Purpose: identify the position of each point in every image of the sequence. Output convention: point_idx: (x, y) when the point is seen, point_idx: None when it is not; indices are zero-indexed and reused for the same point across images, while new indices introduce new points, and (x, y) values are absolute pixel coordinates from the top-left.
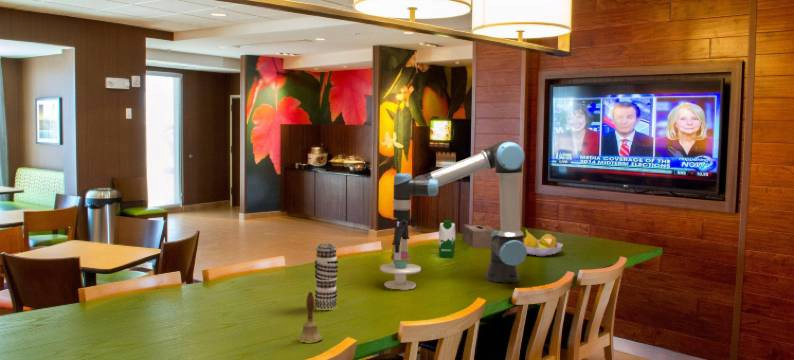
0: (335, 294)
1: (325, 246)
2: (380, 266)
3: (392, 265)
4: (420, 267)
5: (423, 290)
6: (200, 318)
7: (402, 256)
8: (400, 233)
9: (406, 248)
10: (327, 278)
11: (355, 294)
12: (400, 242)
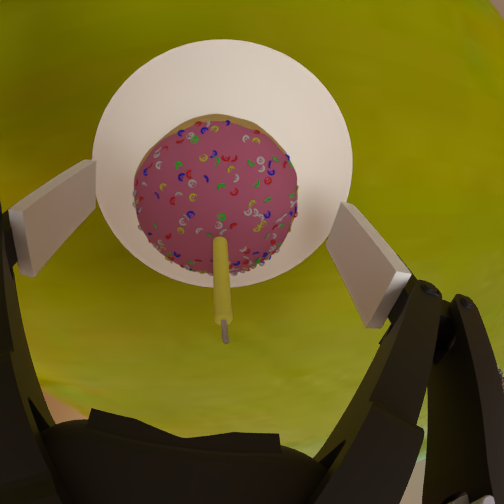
0: None
1: None
2: None
3: None
4: (203, 42)
5: (291, 44)
6: (424, 424)
7: (292, 192)
8: (480, 387)
9: (72, 179)
10: None
11: (352, 301)
12: (412, 294)
